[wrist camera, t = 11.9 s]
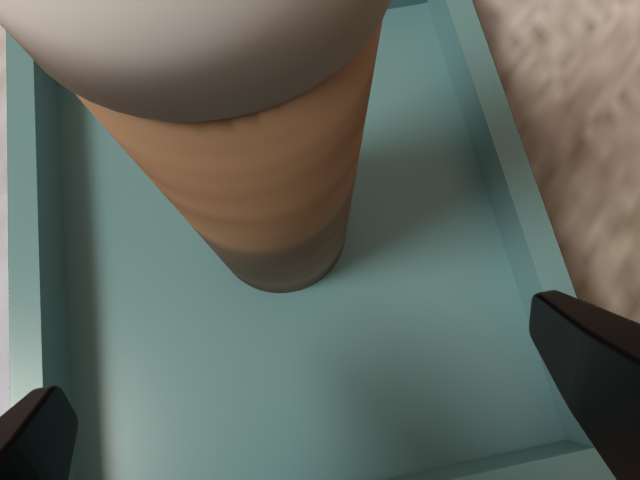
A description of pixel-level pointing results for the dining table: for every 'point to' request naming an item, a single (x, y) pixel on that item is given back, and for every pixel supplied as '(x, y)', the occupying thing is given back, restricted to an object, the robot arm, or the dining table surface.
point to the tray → (299, 294)
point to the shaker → (227, 112)
